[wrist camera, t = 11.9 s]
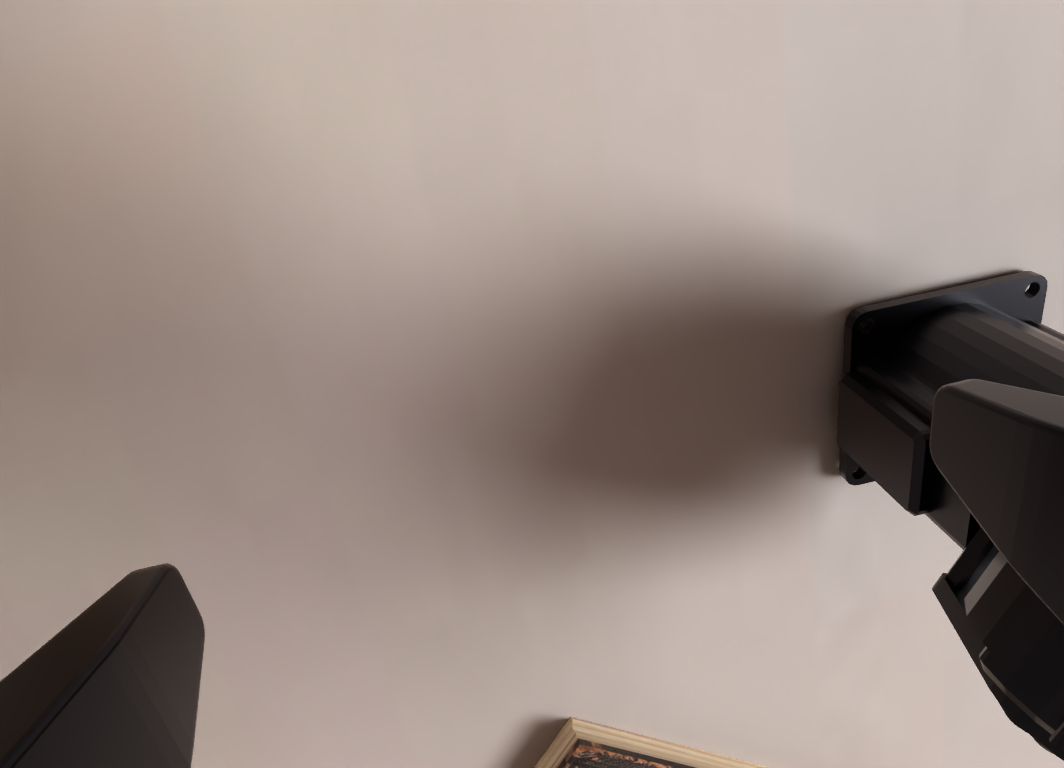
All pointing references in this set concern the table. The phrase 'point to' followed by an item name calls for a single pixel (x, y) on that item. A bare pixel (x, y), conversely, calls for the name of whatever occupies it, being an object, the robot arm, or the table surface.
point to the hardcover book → (624, 750)
